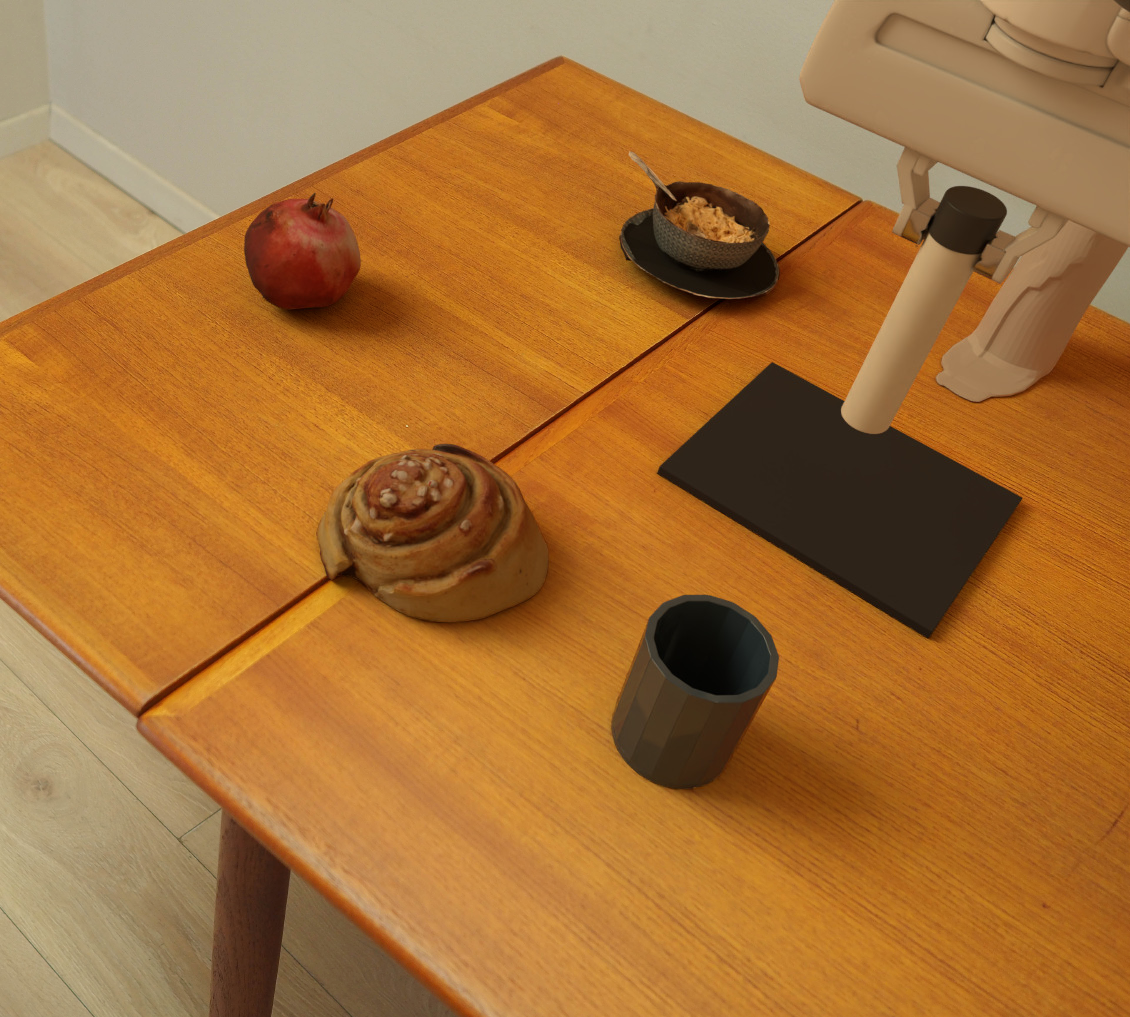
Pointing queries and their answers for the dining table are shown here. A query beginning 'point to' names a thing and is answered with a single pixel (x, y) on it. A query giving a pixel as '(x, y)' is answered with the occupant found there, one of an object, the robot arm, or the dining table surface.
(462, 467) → the pastry
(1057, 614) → the dining table surface
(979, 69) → the robot arm
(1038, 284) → the candle
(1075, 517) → the dining table surface
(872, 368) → the marker
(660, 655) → the pen cup
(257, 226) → the fruit
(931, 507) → the mat
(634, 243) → the soup bowl
